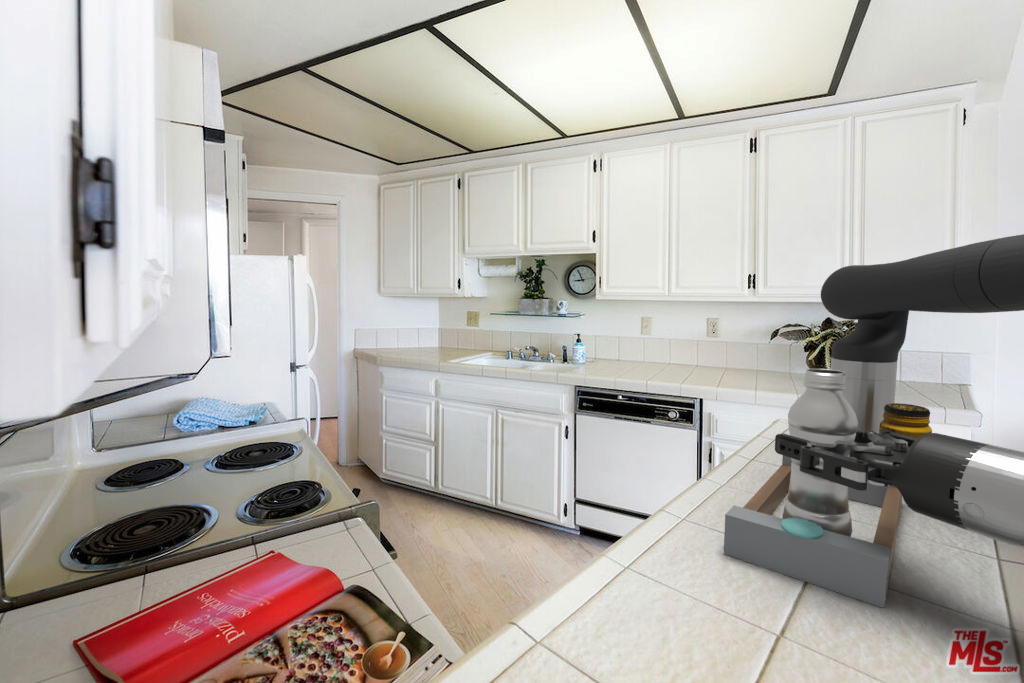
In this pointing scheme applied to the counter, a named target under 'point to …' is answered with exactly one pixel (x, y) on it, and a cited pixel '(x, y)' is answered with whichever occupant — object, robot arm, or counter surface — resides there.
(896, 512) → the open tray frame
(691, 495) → the counter surface
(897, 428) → the condiment
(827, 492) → the plastic bottle
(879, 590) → the grey end board
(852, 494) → the grey beam
